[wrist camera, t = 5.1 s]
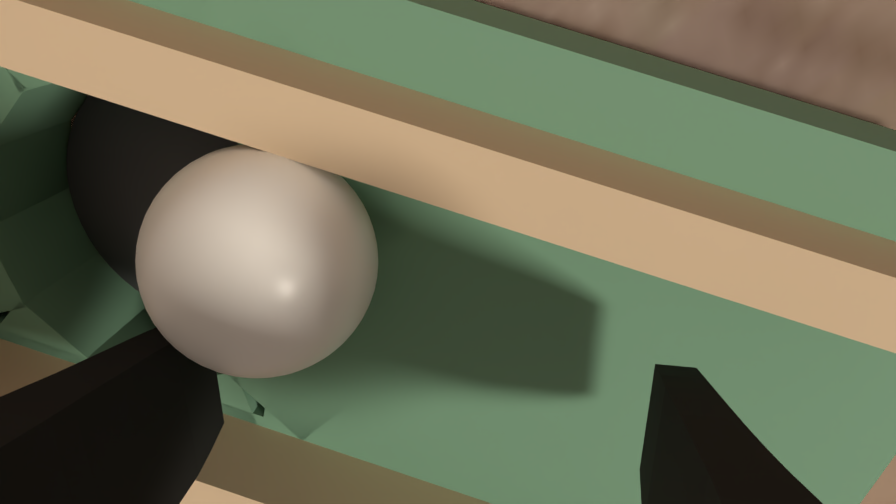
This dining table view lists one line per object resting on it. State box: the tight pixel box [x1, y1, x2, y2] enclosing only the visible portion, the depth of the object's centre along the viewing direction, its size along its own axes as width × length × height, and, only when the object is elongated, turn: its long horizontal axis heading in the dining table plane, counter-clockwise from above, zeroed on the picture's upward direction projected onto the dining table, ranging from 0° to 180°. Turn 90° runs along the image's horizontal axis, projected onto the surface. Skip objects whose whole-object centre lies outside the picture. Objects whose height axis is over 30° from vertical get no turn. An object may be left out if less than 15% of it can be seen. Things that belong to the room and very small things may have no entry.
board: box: [0, 0, 896, 504], centre depth 13 cm, size 19×11×5 cm, turn 75°
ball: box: [135, 144, 378, 378], centre depth 11 cm, size 4×4×4 cm
